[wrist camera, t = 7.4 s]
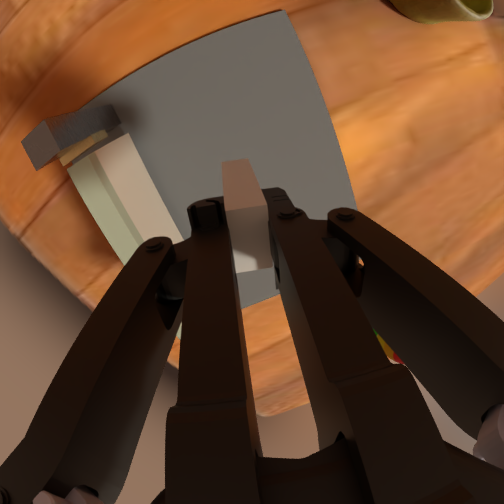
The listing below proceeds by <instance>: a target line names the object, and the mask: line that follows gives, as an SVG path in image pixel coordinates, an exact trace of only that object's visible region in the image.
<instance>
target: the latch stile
mask: <svg viewBox="0 0 504 504" xmlns="http://www.w3.org/2000/svg"><path fill="white" fill-rule="evenodd" d="M120 124H122V123H121V121H120V119H119V117H118V115H117V113H116V111H115V110H114V108H113V106H112V104H110V105H104V106H99V107H94V108H89V109H84V110H79V111H75V112H71V113H66V114H62V115H58V116H55V117H51V118H47V119H44V120H43V121H42V122H41V123H40V124H39V125H38V126H36V127H35V128H34V129H33V130H32V131H31V132H30V133H29V134H28V135H27V136H26V137H25V138H24V139H23V140H22V141H21V143H22V145H23V147H24V149H25V151H26V153H27V154H28V156H29V158H30V160H31V162H32V164H33V166H34V167H35V169H36V171H38V170H39V169H41V168H43V167H44V166H46V165H48V164H49V163H51V162H53V161H55V160H56V159H58V158H60V157H61V158H60V159H59V160H60V162H61V163H62V165H63V167H64V166H65V165H67V164H68V163H70V162H72V161H73V160H75V159H77V158H78V157H80V156H81V155H83V154H84V153H85V152H87V151H88V150H89V149H91V148H92V147H94V146H95V145H97V144H98V143H99V142H101V141H102V140H104V139H105V138H107V137H108V135H107V133H108V132H109V131H111V130H112V129H114V128H116V127H117V126H119V125H120Z"/></svg>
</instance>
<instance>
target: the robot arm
mask: <svg viewBox="0 0 504 504" xmlns="http://www.w3.org/2000/svg"><path fill="white" fill-rule="evenodd" d="M221 166H222V181H223V195H224V196H219V197H213V198H207V199H203V200H199V201H196V202H194V203H192V204H191V205H189V206H188V208H187V213H188V217H189V221H190V226H191V237H189V238H188V239H186V240H184V241H181V242H179V243H176V244H173V242H172V240H171V238H168V237H164V236H160V237H152V238H150V239H148V240H147V241H145V242H143V243H142V244H141V245H140V246H139V247H138V248H137V250H136V251H135V252H134V254H133V255H132V256H131V258H130V259H129V260H128V262H127V263H126V265H125V266H124V267H123V269H122V270H121V272H120V273H119V274H118V276H117V277H116V279H115V280H114V281H113V283H112V284H111V286H110V287H109V289H108V290H107V292H106V293H105V295H104V296H103V298H102V299H101V301H100V302H99V304H98V305H97V307H96V308H95V310H94V311H93V313H92V314H91V316H90V318H89V319H88V321H87V322H86V324H85V325H84V327H83V329H82V330H81V332H80V333H79V335H78V337H77V338H76V340H75V342H74V343H73V345H72V347H71V348H70V350H69V352H68V354H67V355H66V357H65V359H64V360H63V362H62V364H61V366H60V368H59V369H58V371H57V373H56V375H55V377H54V379H53V380H52V383H51V384H50V386H49V388H48V390H47V392H46V394H45V396H44V398H43V399H42V401H41V404H40V405H39V408H38V410H37V412H36V414H35V416H34V418H33V420H32V422H31V424H30V426H29V429H28V431H27V433H26V435H25V438H24V439H23V440H22V441H21V442H20V444H19V445H18V446H17V447H16V448H15V449H14V451H13V452H12V453H11V454H10V456H9V457H8V458H7V459H6V460H5V461H4V463H3V464H2V465H1V466H0V504H114V503H115V502H116V500H117V498H118V496H119V494H120V492H121V490H122V488H123V486H124V483H125V480H126V477H127V475H128V472H129V469H130V465H131V462H132V459H133V456H134V453H135V450H136V446H137V444H138V441H139V438H140V435H141V432H142V429H143V426H144V423H145V420H146V417H147V414H148V411H149V408H150V406H151V403H152V400H153V397H154V394H155V391H156V388H157V386H158V383H159V380H160V377H161V375H162V372H163V369H164V367H165V364H166V361H167V359H168V356H169V353H170V351H171V348H172V345H173V343H174V340H175V337H176V335H177V332H178V330H179V327H180V324H181V322H182V326H181V340H180V355H179V374H178V397H177V403H176V405H175V406H173V407H170V409H169V411H168V413H167V420H166V438H165V489H164V490H163V491H161V492H160V493H159V495H158V496H157V497H156V498H155V499H154V500H153V501H152V503H151V504H504V322H503V321H502V320H501V319H500V318H498V316H497V315H495V314H494V313H493V312H492V311H491V310H490V309H489V308H488V307H486V306H485V305H484V304H483V303H482V302H481V301H479V300H478V299H477V298H476V297H475V296H474V295H472V294H471V293H470V292H469V291H468V290H466V289H465V288H464V287H463V286H461V285H460V284H459V283H458V282H457V281H455V280H454V279H453V278H452V277H450V276H449V275H448V274H446V273H445V272H444V271H443V270H441V269H440V268H439V267H437V266H436V265H435V264H433V263H432V262H431V261H430V260H428V259H427V258H426V257H424V256H423V255H421V254H420V253H419V252H417V251H416V250H415V249H413V248H412V247H410V246H409V245H408V244H406V243H405V242H403V241H402V240H401V239H399V238H398V237H396V236H395V235H393V234H392V233H391V232H389V231H388V230H386V229H385V228H383V227H382V226H380V225H379V224H377V223H376V222H374V221H373V220H371V219H370V218H368V217H367V216H365V215H364V214H362V213H361V212H359V211H357V210H354V209H350V208H348V207H345V208H344V207H340V208H336V209H333V210H330V211H329V212H328V213H327V220H316V219H309V218H308V216H307V214H306V213H305V212H304V211H303V210H302V209H300V208H297V207H295V206H294V205H293V203H292V201H291V200H290V198H289V196H288V195H287V193H286V191H285V190H283V189H281V188H279V187H274V188H267V189H261V188H260V186H259V183H258V181H257V178H256V176H255V174H254V171H253V169H252V166H251V164H250V162H249V159H248V158H246V159H239V160H232V161H226V162H221ZM359 257H360V258H361V259H362V261H363V263H364V266H362V265H361V264H360V263H359ZM272 259H273V262H272ZM273 263H274V272H275V285H276V290H278V289H279V291H280V295H281V298H282V302H283V305H284V309H285V312H286V316H287V320H288V323H289V327H290V330H291V334H292V337H293V341H294V345H295V348H296V352H297V355H298V359H299V363H300V366H301V370H302V374H303V377H304V381H305V385H306V388H307V392H308V396H309V399H310V403H311V407H312V410H313V414H314V418H315V422H316V426H317V431H318V441H319V449H320V451H318V452H316V453H314V454H312V455H310V456H308V457H306V458H301V459H286V458H269V457H263V453H262V448H261V443H260V437H259V432H258V424H257V417H256V411H255V404H254V397H253V390H252V384H251V377H250V370H249V363H248V355H247V348H246V341H245V334H244V326H243V319H242V311H241V304H240V296H239V288H238V280H237V275H236V273H240V272H247V271H253V270H259V269H266V268H272V267H273ZM373 329H374V330H375V331H376V332H377V333H378V335H379V336H380V337H381V338H382V339H383V340H384V341H385V342H386V344H387V345H388V346H389V347H390V348H391V349H392V350H393V351H394V353H395V354H396V355H397V356H398V357H399V358H400V359H401V361H402V362H403V363H404V364H405V365H406V366H407V367H408V368H407V367H406V366H404V365H403V364H401V363H400V364H392V363H391V362H390V361H389V359H388V358H387V356H386V354H385V352H384V350H383V348H382V346H381V344H380V342H379V340H378V338H377V336H376V334H375V332H374V330H373ZM409 370H410V371H411V372H412V373H413V374H414V376H415V377H416V378H417V379H418V380H419V381H420V382H421V384H422V385H423V386H424V387H425V388H426V390H427V391H428V392H429V393H430V394H431V396H432V397H433V398H434V399H435V400H436V402H437V403H438V404H439V405H440V406H441V408H442V409H443V410H444V411H445V412H446V414H447V415H448V416H449V417H450V418H451V419H452V420H453V421H454V422H455V423H456V425H457V426H459V427H460V428H461V429H462V430H463V431H464V432H465V433H467V434H468V435H469V436H471V437H472V438H474V439H476V440H477V443H476V444H475V445H474V448H473V455H474V456H473V455H471V454H469V453H467V452H465V451H463V450H461V449H459V448H457V447H455V446H453V445H451V444H449V443H447V442H446V441H444V440H443V439H442V437H441V435H440V432H439V430H438V428H437V425H436V423H435V421H434V419H433V417H432V415H431V412H430V410H429V408H428V406H427V404H426V402H425V400H424V398H423V396H422V393H421V391H420V390H419V387H418V385H417V383H416V381H415V379H414V377H413V375H412V374H411V372H410V371H409ZM484 459H485V460H486V461H487V462H485V461H484Z"/></svg>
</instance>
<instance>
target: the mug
mask: <svg viewBox="0 0 504 504" xmlns="http://www.w3.org/2000/svg"><path fill="white" fill-rule="evenodd" d="M389 1H390V2H391V3H392V4H393V5H394V6H395V8H396V9H397V10H398V11H399V12H401V13H402V14H404V15H405V16H406V17H408V18H409V19H411V20H413V21H415V22H418V23H423V24H437V23H441V22H448V21H480V20H484V19H486V18H488V17H489V16H490V15H491V13H492V11H493V0H389Z"/></svg>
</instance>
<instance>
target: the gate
mask: <svg viewBox="0 0 504 504" xmlns="http://www.w3.org/2000/svg"><path fill="white" fill-rule="evenodd" d="M67 171H68V173H69V175H70V177H71V179H72V181H73V182H74V184H75V186H76V188H77V190H78V192H79V193H80V195H81V197H82V199H83V200H84V202H85V204H86V206H87V207H88V209H89V211H90V212H91V214H92V216H93V217H94V219H95V221H96V222H97V224H98V226H99V227H100V229H101V231H102V232H103V234H104V235H105V237H106V238H107V240H108V242H109V243H110V245H111V246H112V248H113V249H114V251H115V252H116V254H117V255H118V257H119V258H120V260H121V261H122V263H123V264H124V266H125V265H126V263H127V262H128V260H129V259H130V258H131V256H132V255H133V254H134V252H135V251H136V250H137V248H138V247H139V246H140V245H141V244H142V243H143V242H145V241H147V240H148V239H150V238H152V237H160V236H164V237H168V238H171V240H172V242H173V244H176V243H179V242H181V241H184V239H183V238H182V236H181V234H180V232H179V230H178V228H177V227H176V225H175V223H174V221H173V219H172V217H171V216H170V214H169V212H168V210H167V208H166V206H165V204H164V202H163V201H162V199H161V197H160V195H159V193H158V191H157V189H156V187H155V185H154V183H153V181H152V179H151V177H150V176H149V174H148V172H147V170H146V168H145V166H144V164H143V162H142V160H141V158H140V156H139V154H138V152H137V150H136V147H135V145H134V143H133V141H132V139H131V137H130V135H129V133H127V134H125V135H123V136H121V137H119V138H117V139H116V140H114V141H112V142H110V143H108V144H107V145H105V146H103V147H101V148H99V149H98V150H96V151H94V152H92V153H91V154H89V155H87V156H86V157H84V158H83V159H81V160H80V161H78V162H77V163H75V164H74V165H72V166H71V167H69V168H68V169H67ZM181 326H182V322H181V324H180V327H179V330H178V332H177V335H176V336H177V337H178V338H179V339H180V340H181Z"/></svg>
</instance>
